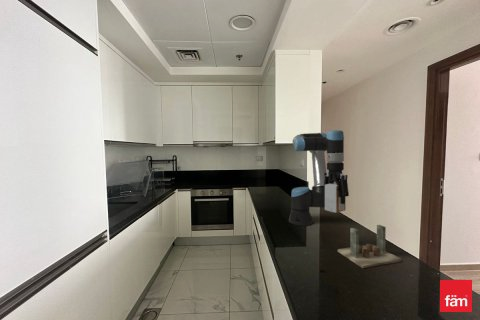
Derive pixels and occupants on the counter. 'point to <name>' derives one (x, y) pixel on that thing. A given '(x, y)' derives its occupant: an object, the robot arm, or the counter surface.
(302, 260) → the counter surface
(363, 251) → the peg stand
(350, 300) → the counter surface
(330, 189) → the small box
